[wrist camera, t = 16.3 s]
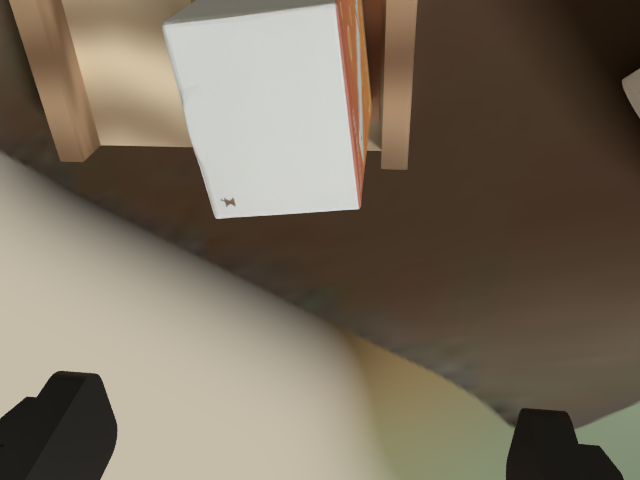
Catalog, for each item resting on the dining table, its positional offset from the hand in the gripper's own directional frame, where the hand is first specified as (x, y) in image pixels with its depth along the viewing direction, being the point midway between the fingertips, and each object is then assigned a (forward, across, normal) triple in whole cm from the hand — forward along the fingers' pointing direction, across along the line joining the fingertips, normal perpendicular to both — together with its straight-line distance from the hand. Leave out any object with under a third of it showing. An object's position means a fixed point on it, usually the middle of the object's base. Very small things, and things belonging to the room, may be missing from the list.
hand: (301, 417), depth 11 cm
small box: (+26, +3, -1) cm, 26 cm away
